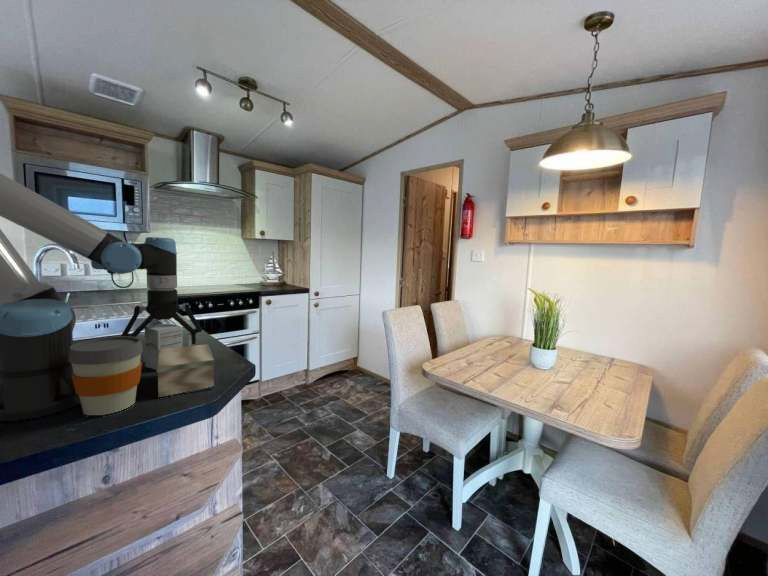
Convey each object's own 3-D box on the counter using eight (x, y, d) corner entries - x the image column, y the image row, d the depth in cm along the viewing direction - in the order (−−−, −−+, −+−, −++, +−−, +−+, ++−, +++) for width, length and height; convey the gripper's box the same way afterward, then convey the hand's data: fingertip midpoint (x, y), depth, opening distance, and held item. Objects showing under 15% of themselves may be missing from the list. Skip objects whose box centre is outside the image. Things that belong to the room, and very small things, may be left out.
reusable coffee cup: (136, 390, 82) (134, 333, 80) (151, 407, 74) (149, 343, 72) (67, 407, 72) (63, 342, 70) (77, 428, 64) (72, 355, 62)
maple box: (157, 399, 78) (156, 367, 77) (159, 376, 91) (158, 349, 90) (214, 389, 84) (214, 359, 84) (208, 369, 98) (208, 343, 97)
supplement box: (144, 367, 97) (143, 326, 96) (170, 360, 104) (169, 322, 103) (158, 372, 94) (157, 330, 93) (183, 365, 101) (183, 325, 99)
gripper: (106, 291, 86) (109, 367, 89) (210, 289, 100) (211, 355, 103) (110, 288, 93) (113, 359, 95) (208, 286, 107) (209, 348, 109)
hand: (164, 357), depth 99 cm, fingers open, 13 cm apart
